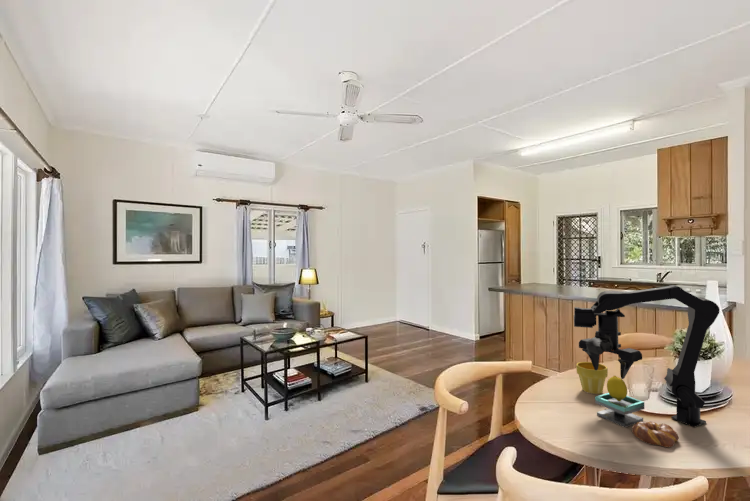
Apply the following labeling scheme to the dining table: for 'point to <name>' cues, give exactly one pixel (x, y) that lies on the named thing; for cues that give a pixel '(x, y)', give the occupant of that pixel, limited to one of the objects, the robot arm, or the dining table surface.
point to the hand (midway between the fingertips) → (608, 374)
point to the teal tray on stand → (619, 409)
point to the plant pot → (592, 377)
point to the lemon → (617, 388)
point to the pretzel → (655, 433)
